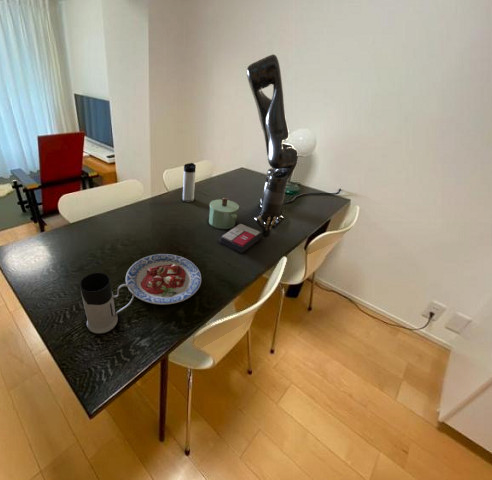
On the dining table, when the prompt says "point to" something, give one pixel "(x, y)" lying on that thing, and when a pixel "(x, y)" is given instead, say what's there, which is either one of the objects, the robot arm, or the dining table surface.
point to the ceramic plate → (163, 279)
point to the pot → (222, 219)
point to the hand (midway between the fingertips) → (265, 236)
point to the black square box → (240, 238)
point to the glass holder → (100, 302)
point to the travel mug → (189, 182)
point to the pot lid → (224, 205)
